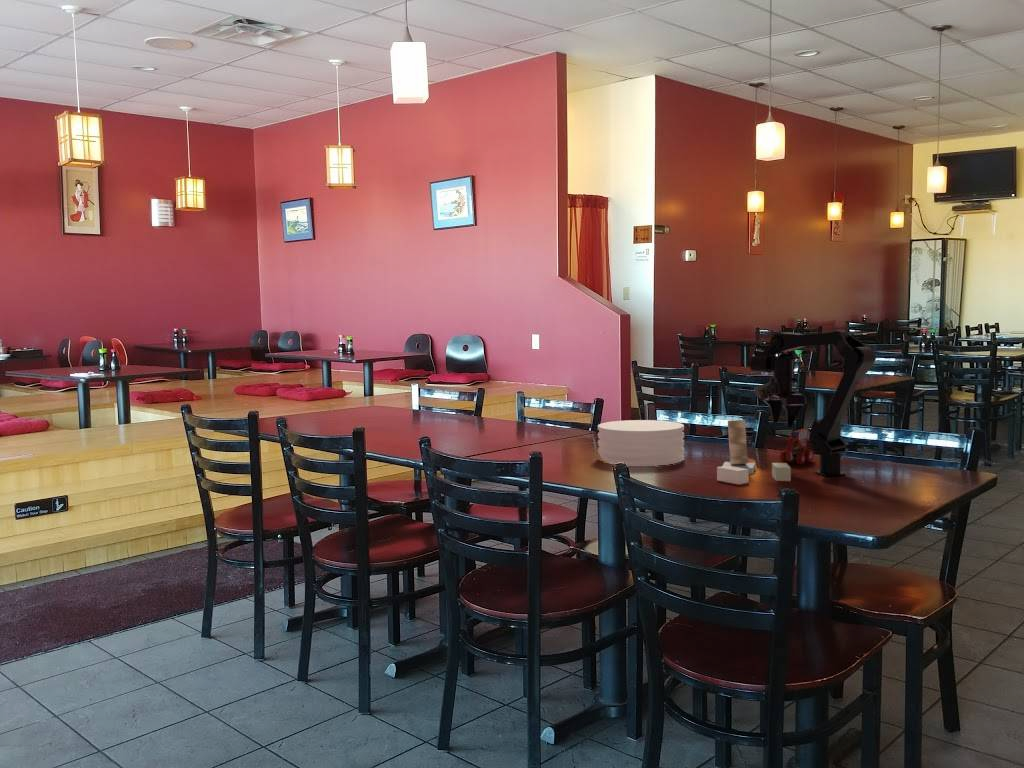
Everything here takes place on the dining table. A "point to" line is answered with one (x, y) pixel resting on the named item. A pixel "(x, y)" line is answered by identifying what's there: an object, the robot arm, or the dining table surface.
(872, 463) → the dining table surface
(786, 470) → the sage brick
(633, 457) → the plate stack
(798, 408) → the robot arm
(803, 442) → the toy fire truck
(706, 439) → the dining table surface
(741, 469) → the cream brick
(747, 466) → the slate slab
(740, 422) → the birch pillar
